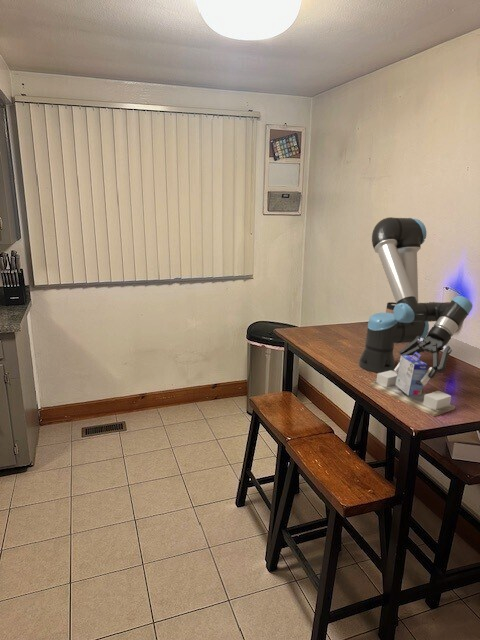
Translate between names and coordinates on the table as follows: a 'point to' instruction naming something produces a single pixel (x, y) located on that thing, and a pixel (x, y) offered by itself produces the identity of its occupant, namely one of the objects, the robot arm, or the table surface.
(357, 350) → the table surface
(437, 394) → the mounted modules
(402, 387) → the ink cartridge box
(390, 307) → the black tan cylinder
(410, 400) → the rail board
